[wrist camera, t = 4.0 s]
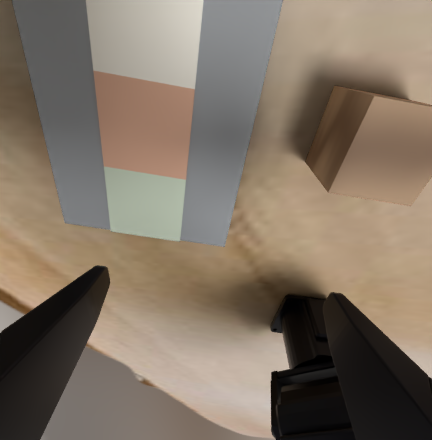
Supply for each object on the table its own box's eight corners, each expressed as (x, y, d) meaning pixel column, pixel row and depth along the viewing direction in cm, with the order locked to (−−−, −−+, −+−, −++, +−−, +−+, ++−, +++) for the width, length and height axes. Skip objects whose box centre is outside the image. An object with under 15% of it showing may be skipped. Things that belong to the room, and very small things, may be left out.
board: (224, 241, 22) (224, 248, 21) (69, 217, 21) (63, 224, 21) (288, -31, 12) (292, -38, 11) (1, -94, 11) (-17, -106, 11)
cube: (368, 172, 18) (410, 206, 14) (304, 161, 18) (328, 192, 14) (408, 99, 15) (476, 115, 11) (333, 85, 15) (374, 96, 11)
